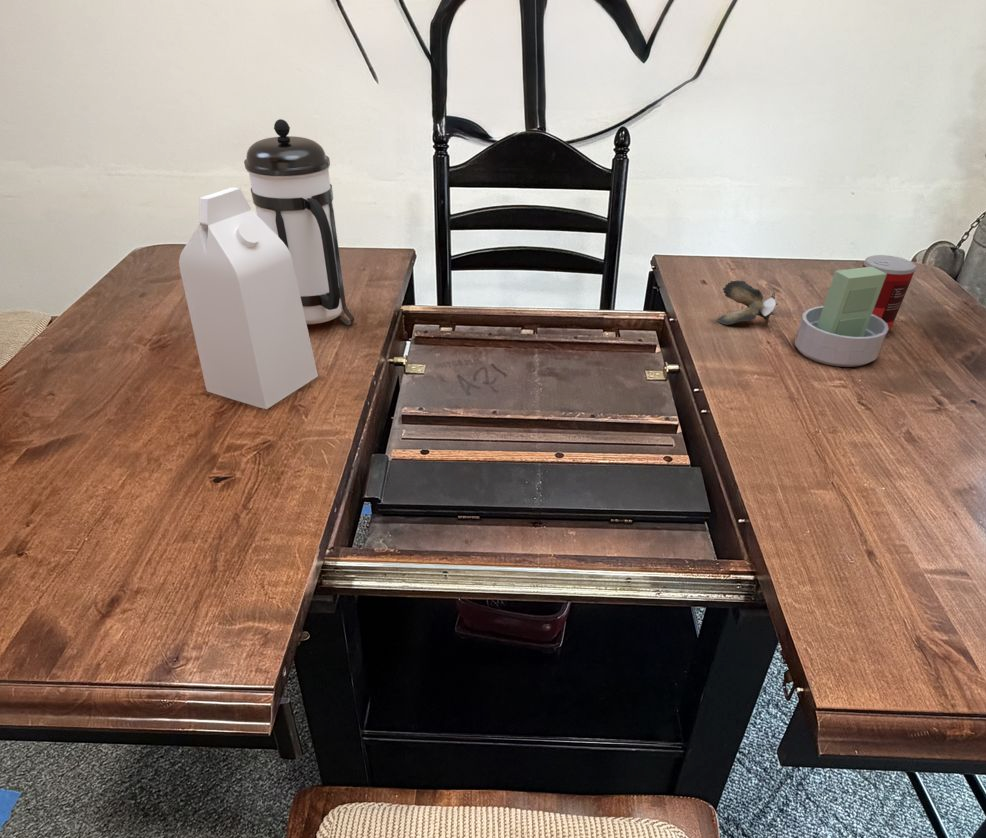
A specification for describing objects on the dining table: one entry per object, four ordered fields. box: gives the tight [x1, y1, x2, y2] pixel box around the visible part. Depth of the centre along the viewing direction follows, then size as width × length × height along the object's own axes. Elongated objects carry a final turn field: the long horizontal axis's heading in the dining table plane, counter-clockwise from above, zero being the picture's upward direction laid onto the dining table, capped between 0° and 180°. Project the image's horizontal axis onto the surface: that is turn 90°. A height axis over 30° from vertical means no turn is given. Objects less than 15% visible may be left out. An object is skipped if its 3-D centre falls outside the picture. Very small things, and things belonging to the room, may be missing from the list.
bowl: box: [794, 305, 890, 368], centre depth 117 cm, size 13×13×5 cm
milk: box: [178, 186, 319, 410], centre depth 99 cm, size 12×12×26 cm
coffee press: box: [243, 118, 355, 327], centre depth 115 cm, size 17×16×30 cm
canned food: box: [861, 254, 917, 334], centre depth 122 cm, size 8×8×11 cm
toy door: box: [817, 267, 887, 337], centre depth 115 cm, size 4×7×12 cm, turn 108°
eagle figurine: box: [716, 279, 779, 325], centre depth 125 cm, size 8×7×9 cm
